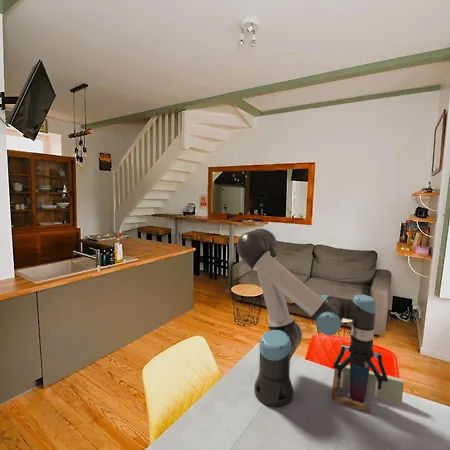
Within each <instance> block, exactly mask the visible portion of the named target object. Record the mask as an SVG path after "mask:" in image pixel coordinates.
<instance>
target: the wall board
mask: <svg viewBox="0 0 450 450" xmlns="http://www.w3.org/2000/svg"><path fill="white" fill-rule="evenodd" d="M341 363H342V362H341ZM341 363H340V362H339V364H338V365H340V364H341ZM333 372H334V373H333V375H334V374H337V375H338V369H336V368H334V371H333ZM380 375H381V376H382V373H380ZM375 378H376V376H375V374H374V373H373V371H372V370H369V375H368V382H367V388H366V395H367V396H371V397H374V398H375V396H374V391H375ZM387 379H388V381H387V382H385V381H382V384H381V389H378V391H377V398H378V399H381V400H384V401H388V402H391V403H393V404H394V403H395V404H398V405H403V395H404V394H403V393H404V385H405V384H404V382H405V381H404V378H403V379H402V378H401V377H395V376H392V375H389V374H388V375H387ZM340 382H341V378H338V386H337V387H338V388H340ZM343 388H344V389H347V390H349V391H350V364H348V365H347V366H346V367H345V368H344V371H343V385H342V388H341V389H343ZM377 398H376V399H377Z"/></svg>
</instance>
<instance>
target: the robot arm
mask: <svg viewBox="0 0 450 450" xmlns="http://www.w3.org/2000/svg"><path fill="white" fill-rule="evenodd" d="M275 236H276V235H275V234H274V233H273V232H272V231H270V230H269V229H265V228H258V229H257V228H256V229H254V230H251V231H248V232H244V233H243V234H241V235H240V236H239V238H238V239H237V243H236V251H237V254H238V255H239V257H240V258H241V260H242V261H243V262H244V263H245V264H246V265H247V266H248V267H250V268H251V270H252V271H256V273H257V276H258V280H259V283H260V287H261V291H262V294H263V297H264V298H263V299H264V301H265V305H266V310H267V312H268V316H269V320H268V322H267V325H268V329H269V330H267V331H266V332H264V333H263V334H262V335H261V337H260V339H259V340H260V341H259V345H258V346H259V361H258V365H259V370H258V371H259V372H258V375H257V377H256V379H255V383H254V386H253V387H254V391H253V392H254V396H255V397H256V399H257V400H258V401H260V402H261V403H262V404H263V405H266V406H269V407H272V408H280V407H285V406H287V405H289V404H290V403H291V402H292V401H293V399H294V388H293V384H292V381H291V378H290V369H291V367H290V366H291V360H292V358H293V356H294V354H295V353H296V351H297V349H298V348H299V346H300V345H301V342H302V337H303V333H302V329H301V327H300V324H298V322H296V320H295V317H294V316H292V315H291V314H290V312H289V309H288V304H287V301H286V298H285V297H288V299H290V300H291V301H292V302H293V303H294V304H295V305H297V307H299V308H300V309H301V310H302V311H304V312H305V313H306V314H307V315H308V316H309V317H311V319H313V320H314V321H315V326H316V328H317V330H318V331H319V332H320V333H321V334H323V335H326V336H334V335H335V334H337V333H338V332H339V330H340V328H341V327H342V323H343V322H342V321H343V319H345V320H347V321H348V320H350V321H351V331H350V334H351V335H350V345H348V346H346V345H345V344H344V343H342V344H341V347H340V351H339V353H338V355H337V356H336V358H335V360H334V362H333V369H335V368H336V369H338V378H341V382H340V387H339V388H341V389H343V388H342V385H343V371H344V368H345V367H346V366H347V365H350V362H351V361H353V360H354V359H356V360H357V361H362V362H367V364H368V365H369V366H370V369H371V371H372V372H373V373H374V374H375V376H376V378H375V391H374V396H375V397H374V396H373V397H374V398H376V399H377V391H378V389H381V384H382V381H385V382H387V381H388V379H387V371H386V369H385V366H384V363H383V360H382V359H383V355H382V353H381V352H380V351H378V352H374V351H373V349H374V338H375V335H374V334H375V324H376V323H375V322H376V313H377V311H376V309H377V307H376V306H377V304H376V303H377V301H376V300H375V298H374V297H372V296H369V295H366V294H356V295H354V296H353V299H350V298H346V297H345V298H344V297H340V296H333V295H332V294H331V295H330V294H329V295H327V294H322V295H321V296H319V295H318V294H317V293H316V292H315V291H313V290H312V289H311V288H309V286H307V285H306V284H305V283H304V282H303V281H301V280H300V279H299V278H298V277H296V275H294V274H293V273H292V272H290V271H289V270H288V269H287V268H286V267H284V265H282V264H281V263H280V262H279V261H278V260H277V258H278V255H277V251H276V246H277V239H276V237H275ZM348 351H349V353H350V354H349V355H348V356H347V357H346V358H345V359H344V360H343V361H341V360H342V359H343V356H344V355H345V353H347V352H348ZM373 357H374V358H375V360H377V363H378V366H379V370H380V372H381V373H380V372H379V370H378V368H377V367H376V365H375V363H374V362H373V360H372V358H373ZM340 362H341V364H340V365H338V364H339V363H340ZM380 374H382V376H381V375H380Z"/></svg>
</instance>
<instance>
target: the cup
mask: <svg viewBox="0 0 450 450" xmlns="http://www.w3.org/2000/svg"><path fill="white" fill-rule="evenodd" d="M349 366H350V390H349V393H350V394H349V397H350V398H349V399H351V400H354V401H358V402H361V403H364V404H365V400H366V395H367V394H366V388H367V382H368V375H369V371H370V369H371V368H370V366H369V365H368V364H367V362H362V361H357V360H356V359H354V360H353V361H351V362H350V363H349Z"/></svg>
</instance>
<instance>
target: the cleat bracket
mask: <svg viewBox="0 0 450 450" xmlns="http://www.w3.org/2000/svg"><path fill="white" fill-rule="evenodd" d="M338 387H339V386H338V375H337V374H334V373H333V380H332V387H331V400H330V401H331V402H333V403H335V404H336V403H337V404H340V405H342V406H345V407H347V408H352V409H355V410H359V411H361V412H365V413H368V414H370V410H371V405H370V404H367V403H365V402H364V403H361V402H358V401H354V400H352V399H351V398H348V397H344V396H341V395H338V394H337V392H338Z"/></svg>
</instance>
